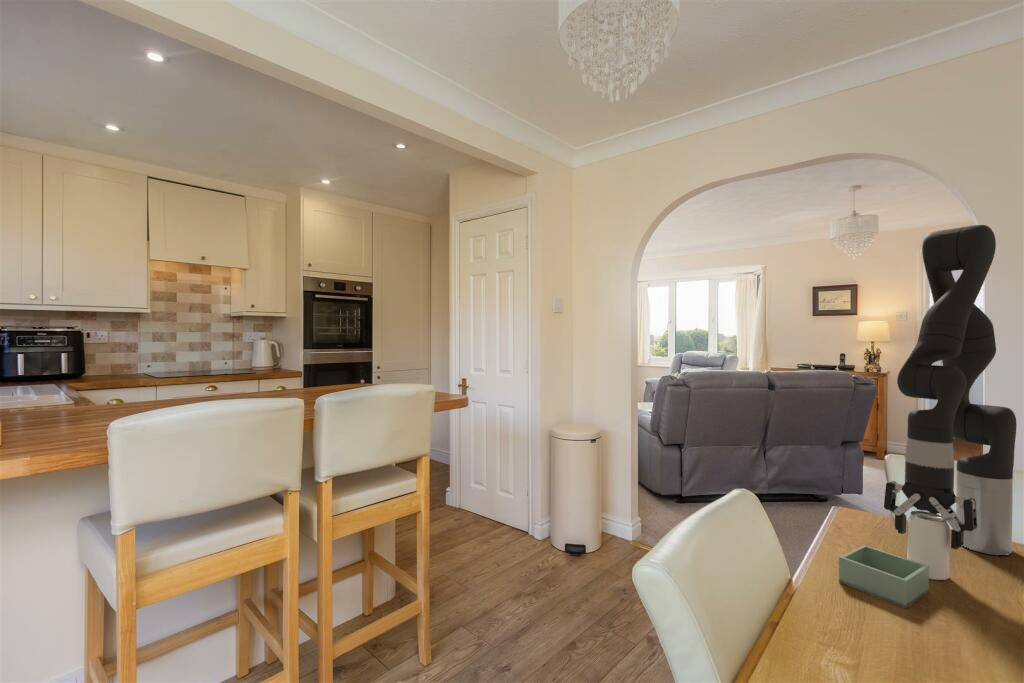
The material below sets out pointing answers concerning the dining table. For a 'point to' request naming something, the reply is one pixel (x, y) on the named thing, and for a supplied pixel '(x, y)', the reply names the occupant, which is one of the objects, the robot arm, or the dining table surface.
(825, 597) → the dining table surface
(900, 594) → the bin
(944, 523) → the can
